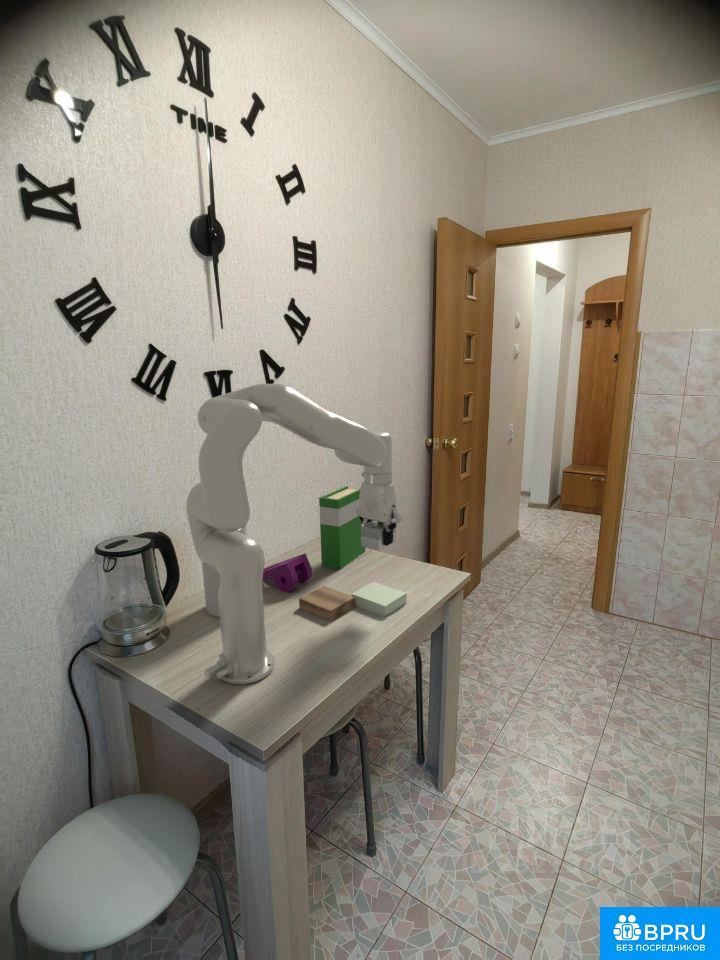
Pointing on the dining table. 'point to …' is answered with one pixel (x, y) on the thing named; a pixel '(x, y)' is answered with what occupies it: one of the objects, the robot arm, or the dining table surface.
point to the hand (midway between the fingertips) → (378, 540)
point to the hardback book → (340, 528)
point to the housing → (374, 535)
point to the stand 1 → (327, 603)
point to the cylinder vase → (213, 586)
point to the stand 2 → (379, 598)
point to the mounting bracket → (289, 573)
